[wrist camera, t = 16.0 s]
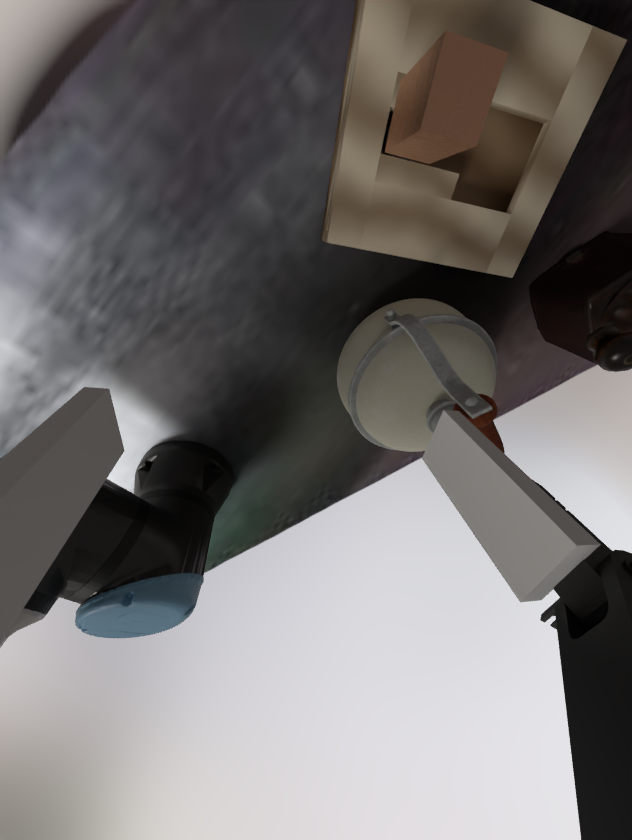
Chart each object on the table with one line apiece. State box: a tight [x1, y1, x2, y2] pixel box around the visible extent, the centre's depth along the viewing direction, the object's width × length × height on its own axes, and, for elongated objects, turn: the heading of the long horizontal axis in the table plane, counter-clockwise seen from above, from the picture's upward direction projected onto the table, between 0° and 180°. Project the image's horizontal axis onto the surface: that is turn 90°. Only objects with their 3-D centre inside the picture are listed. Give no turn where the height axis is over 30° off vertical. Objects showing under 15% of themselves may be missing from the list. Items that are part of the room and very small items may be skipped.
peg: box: [381, 30, 509, 164], centre depth 23 cm, size 5×5×14 cm
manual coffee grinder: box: [529, 231, 632, 372], centre depth 34 cm, size 16×11×18 cm
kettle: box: [337, 298, 504, 453], centre depth 34 cm, size 25×18×25 cm
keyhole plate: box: [321, 0, 627, 278], centre depth 29 cm, size 18×22×5 cm
